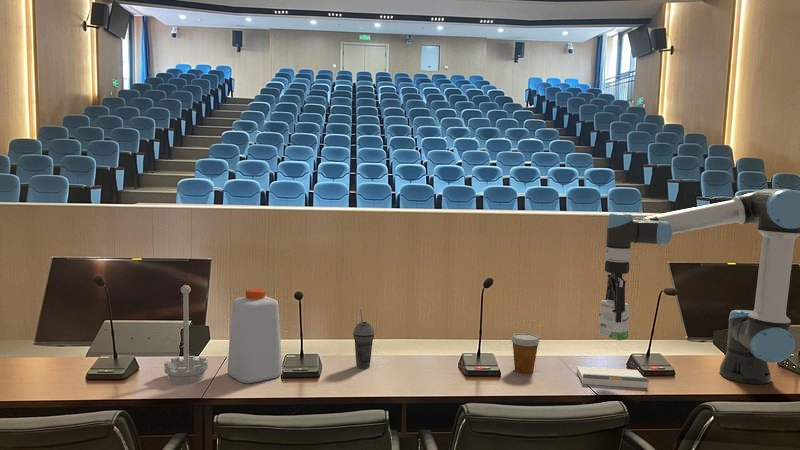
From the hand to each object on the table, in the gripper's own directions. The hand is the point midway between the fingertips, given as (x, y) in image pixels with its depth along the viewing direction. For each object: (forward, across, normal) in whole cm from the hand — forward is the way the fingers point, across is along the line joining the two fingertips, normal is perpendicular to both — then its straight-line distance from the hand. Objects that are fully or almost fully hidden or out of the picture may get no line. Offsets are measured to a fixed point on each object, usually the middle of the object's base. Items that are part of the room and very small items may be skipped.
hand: (613, 327), depth 198 cm
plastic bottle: (+18, +18, -116) cm, 119 cm away
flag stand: (+18, +25, -136) cm, 139 cm away
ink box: (+3, 0, 0) cm, 3 cm away
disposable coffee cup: (+18, -4, -28) cm, 33 cm away
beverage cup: (+18, +3, -83) cm, 85 cm away
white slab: (+18, 0, 0) cm, 18 cm away
